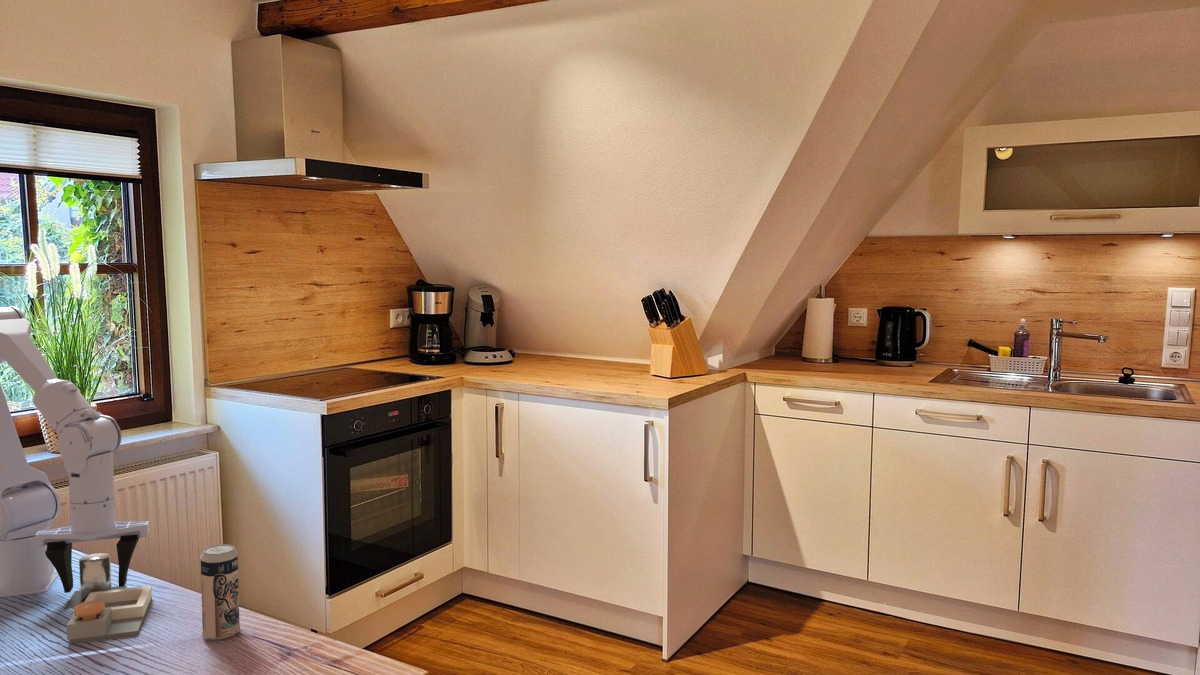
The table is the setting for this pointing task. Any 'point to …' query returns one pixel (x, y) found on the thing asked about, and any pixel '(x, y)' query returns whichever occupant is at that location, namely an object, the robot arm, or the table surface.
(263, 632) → the table surface
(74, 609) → the button
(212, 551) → the beer can
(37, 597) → the table surface
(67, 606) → the mat
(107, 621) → the station
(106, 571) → the billet
